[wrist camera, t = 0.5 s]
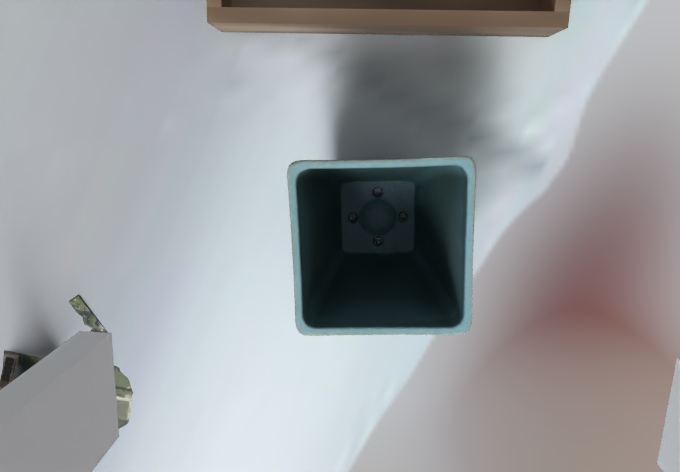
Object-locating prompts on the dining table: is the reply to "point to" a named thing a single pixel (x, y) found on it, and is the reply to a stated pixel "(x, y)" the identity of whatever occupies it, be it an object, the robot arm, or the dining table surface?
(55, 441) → the robot arm
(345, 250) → the flower pot
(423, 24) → the box
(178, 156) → the dining table surface
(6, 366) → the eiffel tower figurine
